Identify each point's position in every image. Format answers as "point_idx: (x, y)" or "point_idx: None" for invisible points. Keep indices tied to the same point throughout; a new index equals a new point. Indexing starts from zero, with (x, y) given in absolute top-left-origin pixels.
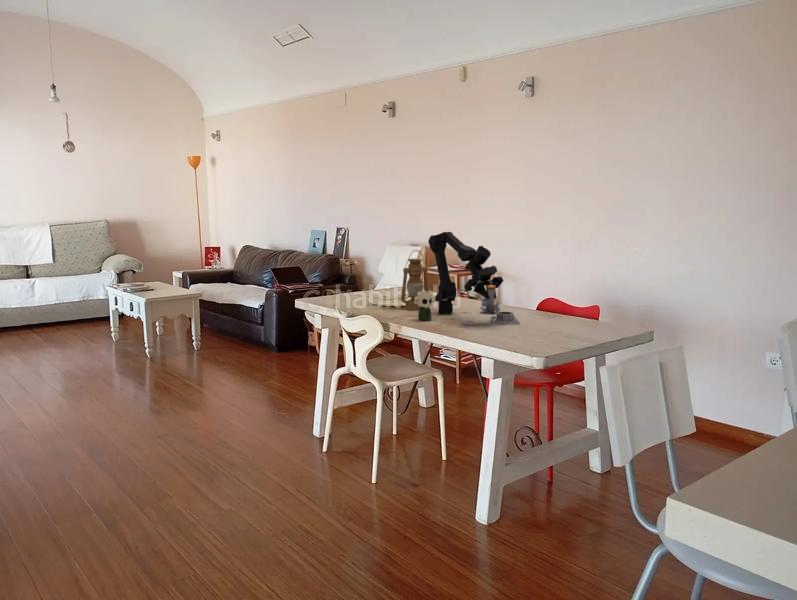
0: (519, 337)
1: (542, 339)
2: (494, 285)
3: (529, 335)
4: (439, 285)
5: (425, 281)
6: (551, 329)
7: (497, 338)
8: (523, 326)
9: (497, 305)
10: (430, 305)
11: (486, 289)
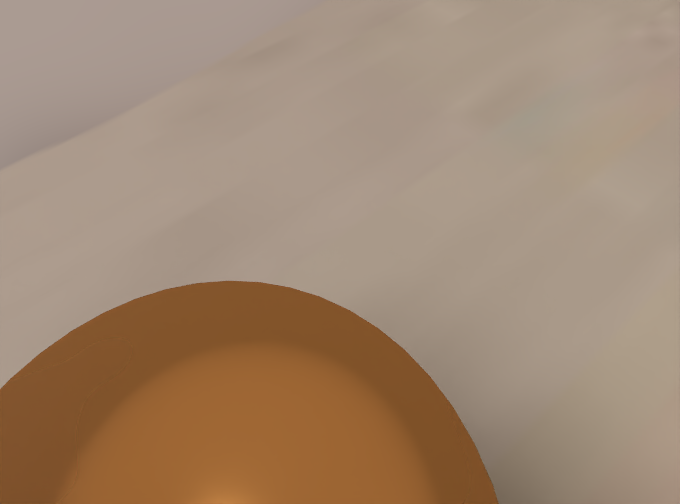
0: (479, 89)
1: (414, 13)
2: (192, 297)
3: (391, 87)
4: None
5: None
6: (154, 101)
7: (619, 141)
8: (176, 251)
9: None
10: None
11: None
